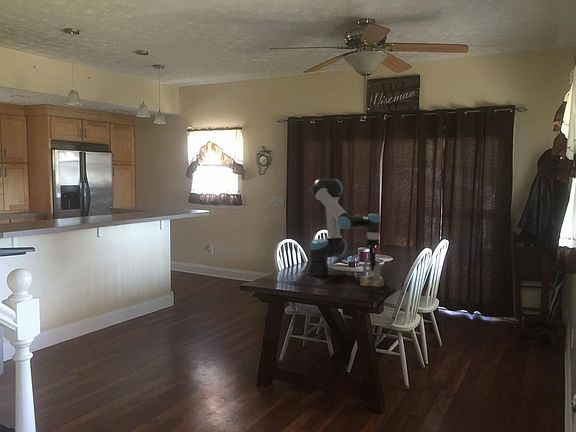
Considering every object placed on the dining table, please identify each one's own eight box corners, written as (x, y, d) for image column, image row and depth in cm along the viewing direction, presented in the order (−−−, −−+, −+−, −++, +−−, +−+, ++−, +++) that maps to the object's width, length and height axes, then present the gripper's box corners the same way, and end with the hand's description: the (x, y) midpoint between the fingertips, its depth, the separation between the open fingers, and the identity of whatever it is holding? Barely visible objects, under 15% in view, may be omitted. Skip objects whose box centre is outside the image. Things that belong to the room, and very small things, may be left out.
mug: (377, 279, 296) (378, 260, 294) (360, 276, 302) (360, 257, 300) (382, 277, 302) (383, 258, 300) (365, 273, 308) (366, 255, 306)
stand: (360, 285, 295) (360, 280, 295) (359, 280, 309) (359, 275, 308) (383, 286, 294) (383, 281, 293) (381, 281, 307) (381, 275, 307)
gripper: (380, 241, 287) (379, 278, 290) (377, 236, 308) (376, 271, 311) (368, 241, 288) (366, 278, 291) (365, 236, 309) (364, 270, 311)
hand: (371, 274), depth 301 cm, fingers open, 8 cm apart
